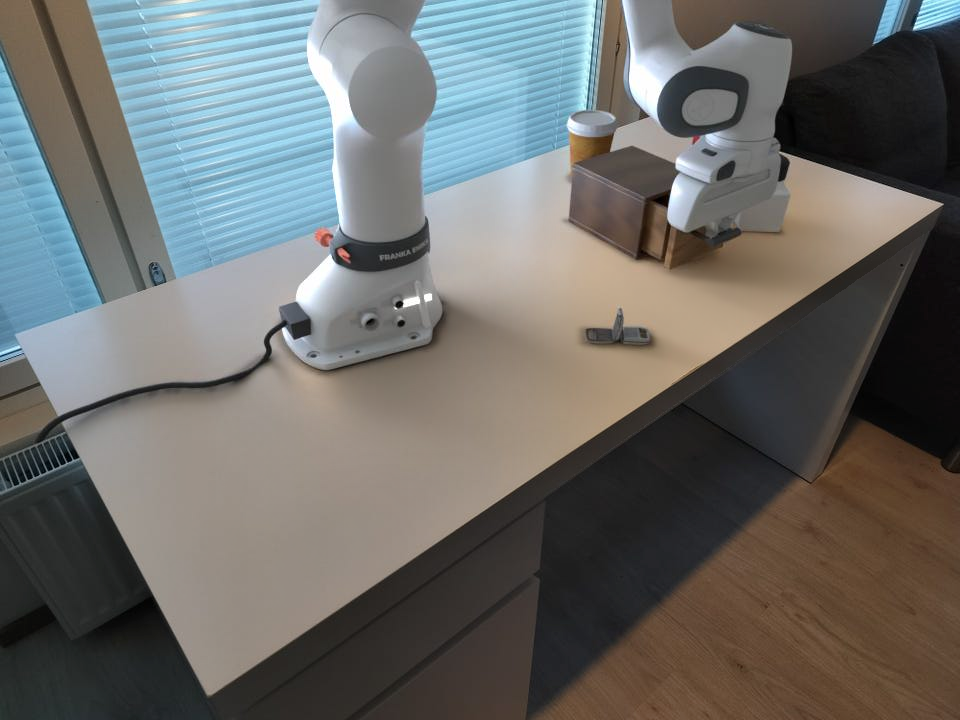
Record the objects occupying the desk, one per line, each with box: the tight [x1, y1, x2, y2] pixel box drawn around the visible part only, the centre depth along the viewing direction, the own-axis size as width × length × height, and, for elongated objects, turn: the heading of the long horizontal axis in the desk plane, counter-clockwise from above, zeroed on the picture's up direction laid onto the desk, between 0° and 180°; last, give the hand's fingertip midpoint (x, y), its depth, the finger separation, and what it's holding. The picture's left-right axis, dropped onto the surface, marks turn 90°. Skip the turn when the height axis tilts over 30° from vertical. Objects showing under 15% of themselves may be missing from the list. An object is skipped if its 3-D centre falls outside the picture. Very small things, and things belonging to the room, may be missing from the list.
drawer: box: [641, 194, 742, 271], centre depth 108 cm, size 20×12×9 cm, turn 35°
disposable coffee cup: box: [566, 109, 619, 180], centre depth 130 cm, size 10×10×12 cm
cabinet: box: [568, 145, 680, 260], centre depth 114 cm, size 17×14×11 cm
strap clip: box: [585, 307, 651, 346], centre depth 91 cm, size 8×3×4 cm, turn 86°
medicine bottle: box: [733, 153, 791, 233], centre depth 115 cm, size 7×7×12 cm
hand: (715, 239), depth 103 cm, fingers closed
